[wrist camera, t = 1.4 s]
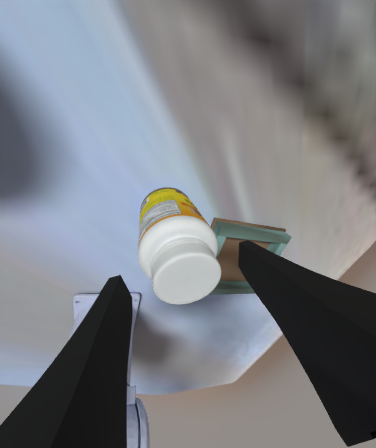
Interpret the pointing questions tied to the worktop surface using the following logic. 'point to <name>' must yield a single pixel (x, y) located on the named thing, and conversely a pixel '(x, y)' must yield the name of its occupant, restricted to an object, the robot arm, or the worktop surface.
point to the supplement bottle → (177, 247)
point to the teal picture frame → (229, 250)
